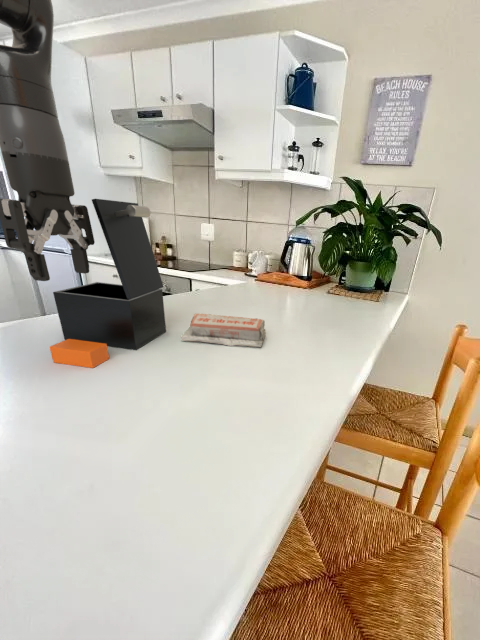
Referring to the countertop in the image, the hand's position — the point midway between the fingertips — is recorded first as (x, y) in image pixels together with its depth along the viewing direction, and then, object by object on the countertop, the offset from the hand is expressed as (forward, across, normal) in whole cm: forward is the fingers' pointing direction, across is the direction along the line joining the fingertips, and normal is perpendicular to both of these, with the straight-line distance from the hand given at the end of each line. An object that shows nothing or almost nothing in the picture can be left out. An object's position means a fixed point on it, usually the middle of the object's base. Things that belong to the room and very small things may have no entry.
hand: (63, 276), depth 52 cm
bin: (+15, -14, -2) cm, 20 cm away
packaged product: (+15, -21, +20) cm, 33 cm away
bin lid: (-3, -14, +3) cm, 15 cm away
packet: (+15, 0, 0) cm, 15 cm away
